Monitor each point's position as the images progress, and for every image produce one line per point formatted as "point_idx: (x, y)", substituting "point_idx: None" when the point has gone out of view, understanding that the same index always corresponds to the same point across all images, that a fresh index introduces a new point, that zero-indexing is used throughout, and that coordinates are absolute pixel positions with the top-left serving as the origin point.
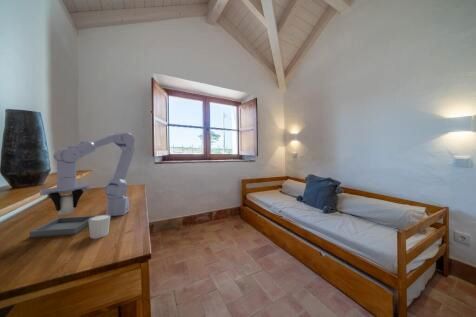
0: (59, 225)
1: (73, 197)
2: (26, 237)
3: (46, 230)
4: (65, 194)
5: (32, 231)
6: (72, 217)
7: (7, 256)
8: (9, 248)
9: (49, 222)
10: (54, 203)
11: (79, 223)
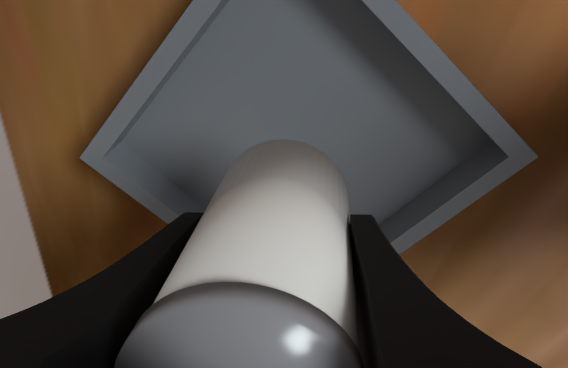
0: (269, 47)
1: (367, 336)
2: (86, 100)
3: (166, 222)
4: (242, 342)
5: (94, 167)
6: (382, 20)
7: (58, 293)
8: (42, 210)
9: (190, 22)
10: (128, 264)
11: (390, 137)
